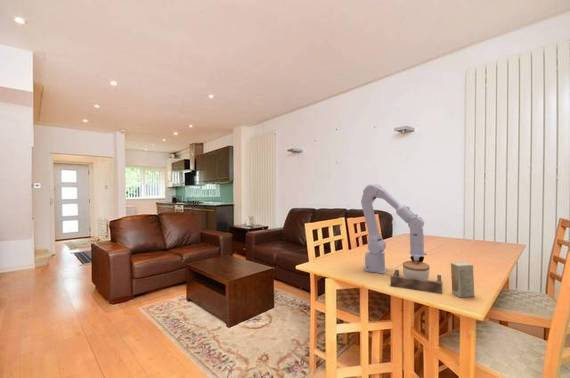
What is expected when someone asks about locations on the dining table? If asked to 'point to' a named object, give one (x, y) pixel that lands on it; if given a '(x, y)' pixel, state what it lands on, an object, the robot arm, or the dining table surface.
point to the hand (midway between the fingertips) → (417, 272)
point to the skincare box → (462, 279)
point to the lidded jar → (416, 270)
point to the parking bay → (416, 283)
